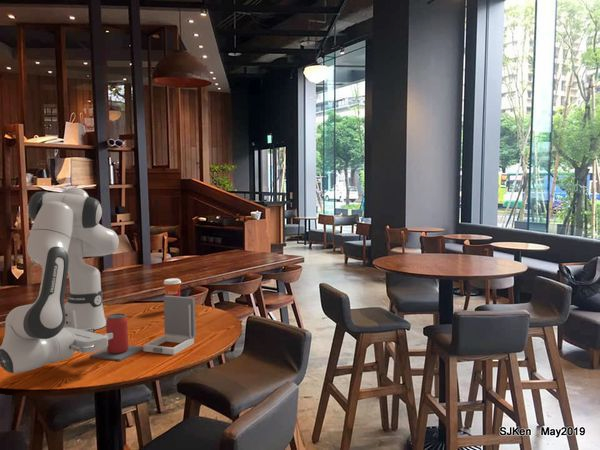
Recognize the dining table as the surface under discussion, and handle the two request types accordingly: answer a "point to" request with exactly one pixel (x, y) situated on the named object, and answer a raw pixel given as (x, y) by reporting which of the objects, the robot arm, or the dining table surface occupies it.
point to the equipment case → (176, 325)
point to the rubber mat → (105, 355)
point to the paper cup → (172, 287)
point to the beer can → (117, 333)
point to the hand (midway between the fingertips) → (102, 332)
